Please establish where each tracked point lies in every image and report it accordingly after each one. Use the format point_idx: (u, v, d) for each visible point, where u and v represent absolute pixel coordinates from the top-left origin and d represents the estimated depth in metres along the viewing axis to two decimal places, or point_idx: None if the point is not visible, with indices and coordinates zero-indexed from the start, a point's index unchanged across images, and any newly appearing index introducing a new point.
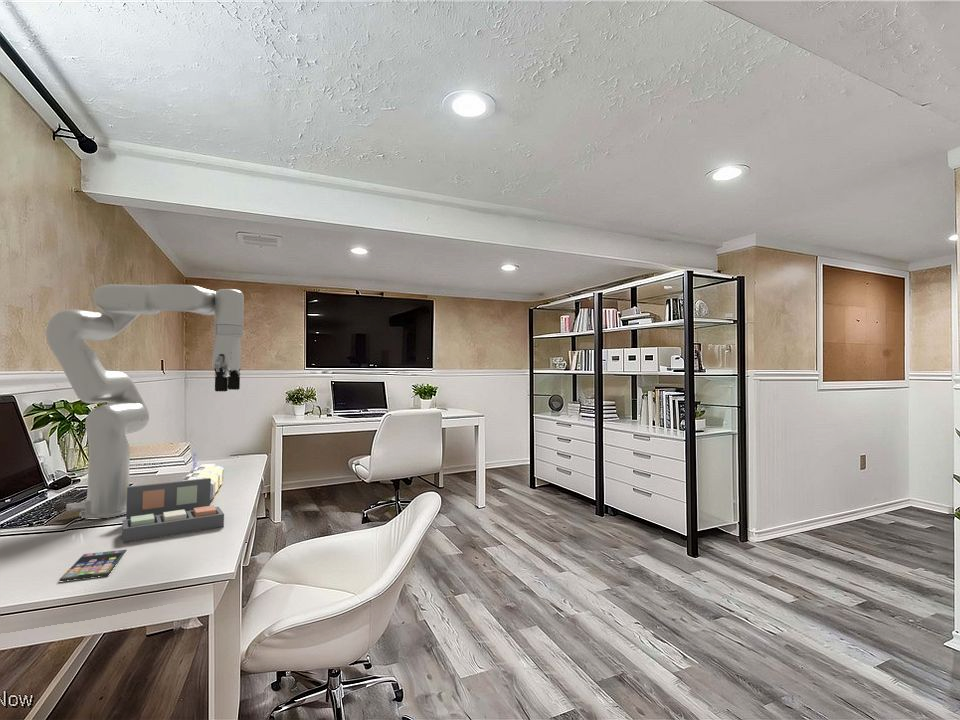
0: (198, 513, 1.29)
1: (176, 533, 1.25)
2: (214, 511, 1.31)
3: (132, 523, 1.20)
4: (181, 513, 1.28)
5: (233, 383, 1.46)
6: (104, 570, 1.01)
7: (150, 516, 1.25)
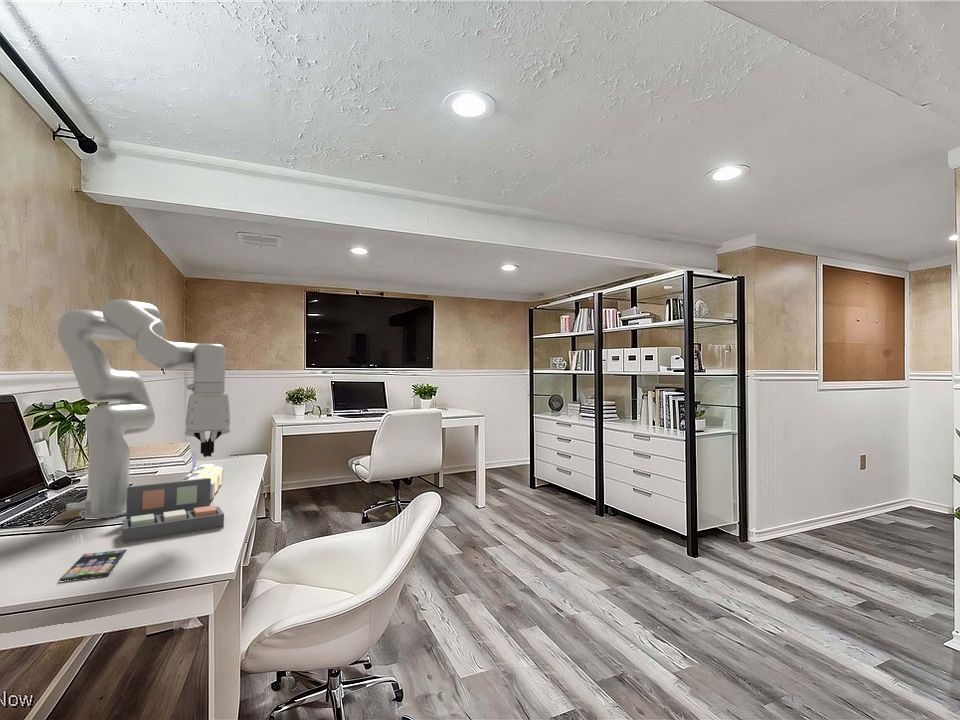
0: (198, 513, 1.29)
1: (176, 533, 1.25)
2: (214, 511, 1.31)
3: (132, 523, 1.20)
4: (181, 513, 1.28)
5: None
6: (104, 570, 1.01)
7: (150, 516, 1.25)
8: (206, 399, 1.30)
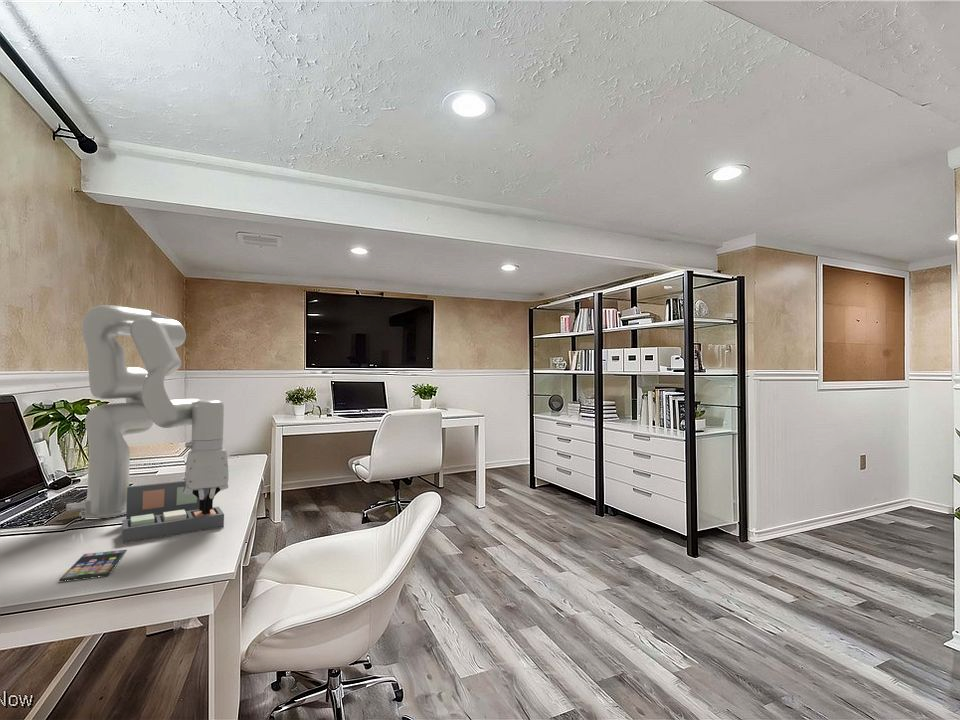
0: None
1: (176, 533, 1.25)
2: None
3: (132, 523, 1.20)
4: (181, 513, 1.28)
5: None
6: (104, 570, 1.01)
7: (150, 516, 1.25)
8: (204, 457, 1.29)
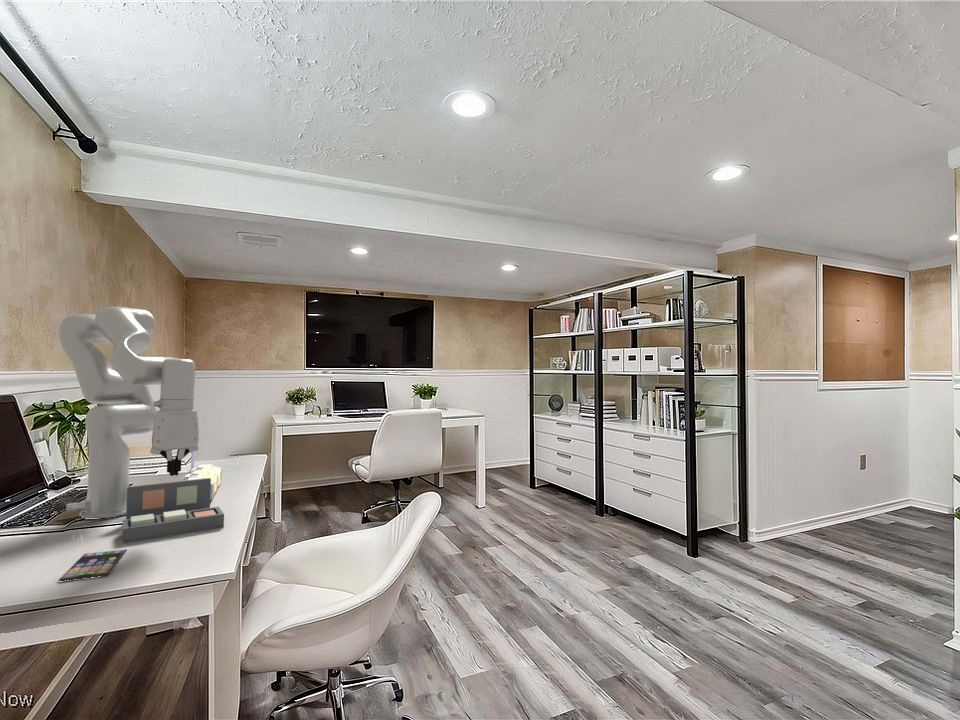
0: None
1: (176, 533, 1.25)
2: None
3: (132, 523, 1.20)
4: (181, 513, 1.28)
5: None
6: (104, 570, 1.01)
7: (150, 516, 1.25)
8: (173, 417, 1.25)
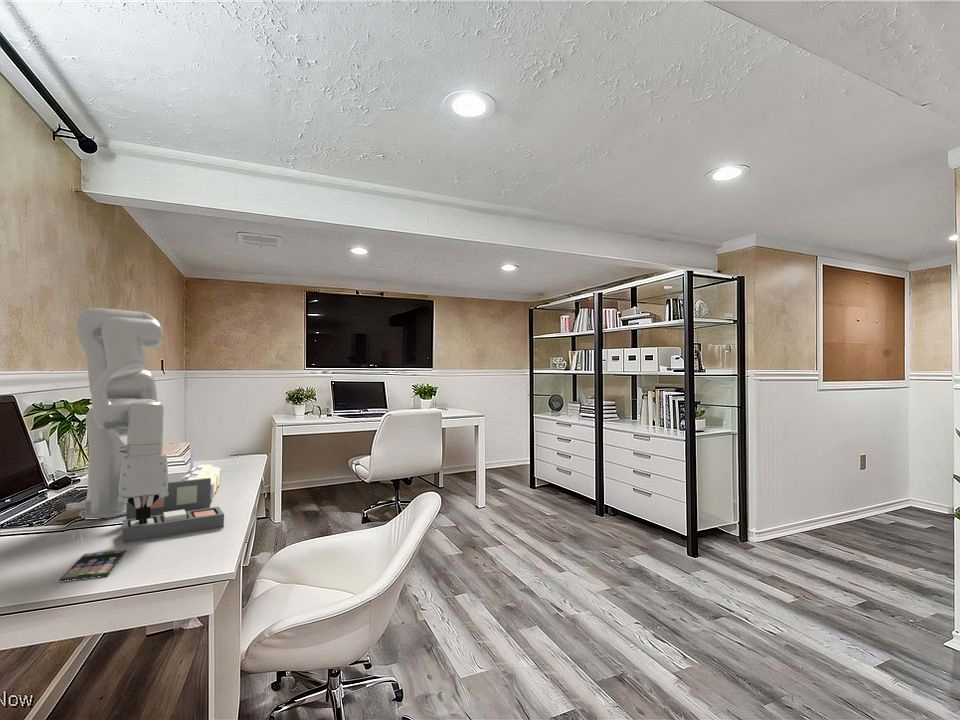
0: None
1: (176, 533, 1.25)
2: None
3: None
4: (181, 513, 1.28)
5: (142, 514, 1.23)
6: (104, 570, 1.01)
7: (150, 520, 1.25)
8: (140, 463, 1.21)
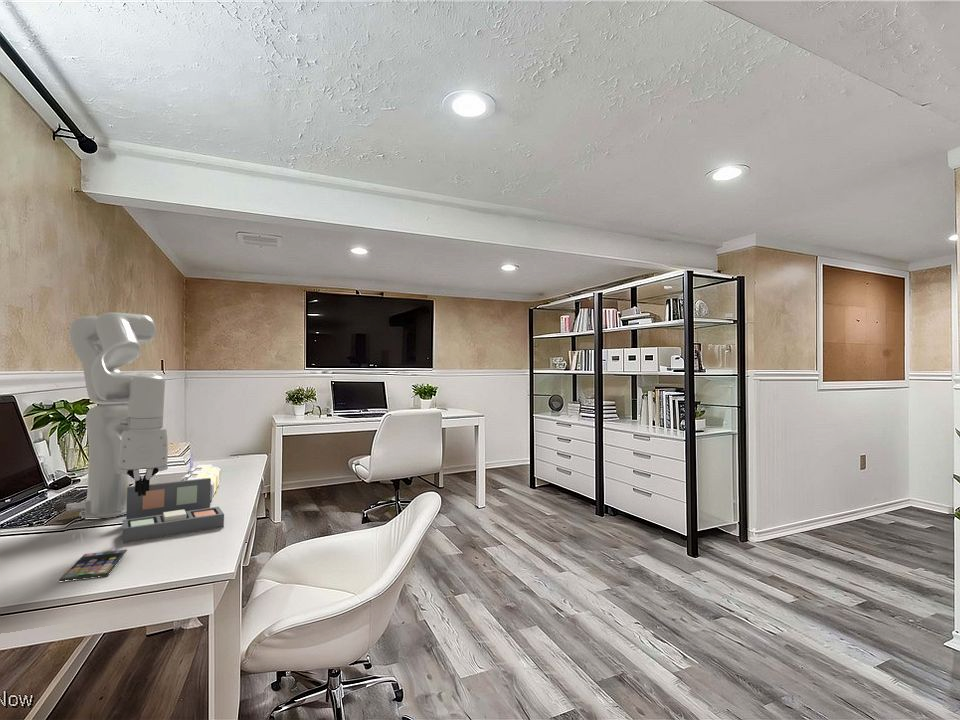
0: None
1: (176, 533, 1.25)
2: None
3: None
4: (181, 513, 1.28)
5: (141, 487, 1.24)
6: (104, 570, 1.01)
7: (150, 521, 1.25)
8: (140, 436, 1.21)
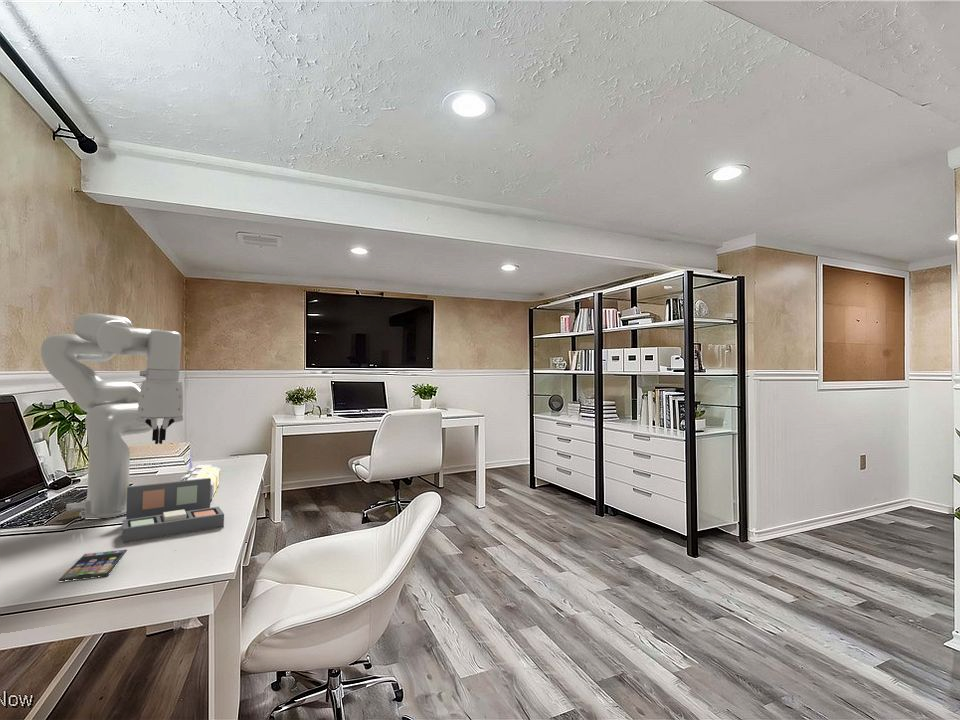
0: None
1: (176, 533, 1.25)
2: None
3: None
4: (181, 513, 1.28)
5: None
6: (103, 570, 1.01)
7: (150, 521, 1.25)
8: (157, 387, 1.29)
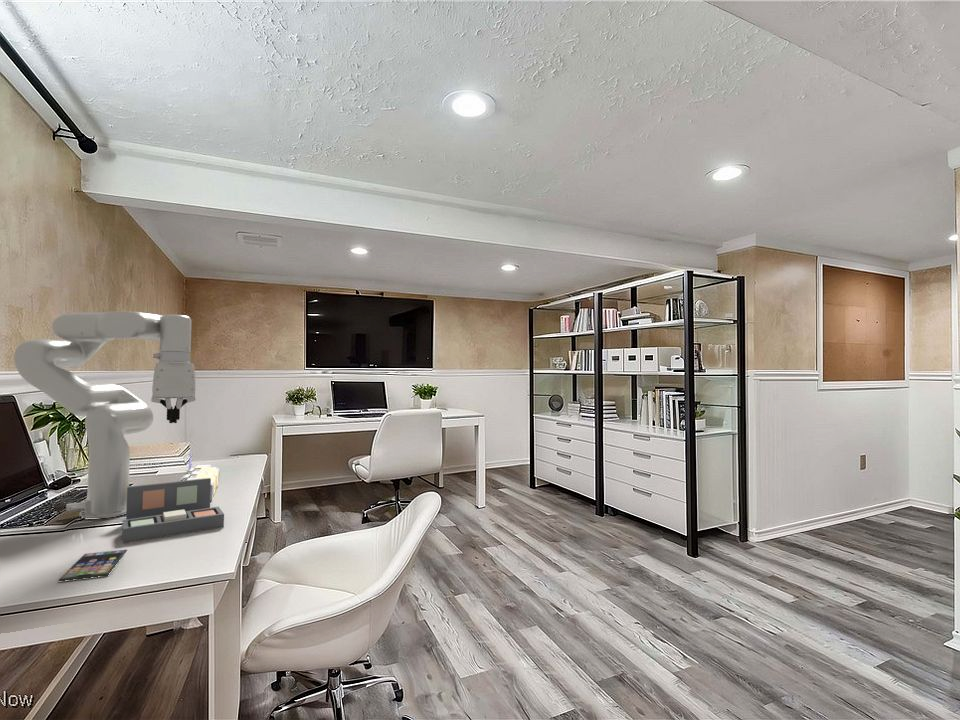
0: None
1: (176, 533, 1.25)
2: None
3: None
4: (181, 513, 1.28)
5: None
6: (103, 570, 1.01)
7: (150, 521, 1.25)
8: (171, 368, 1.35)
